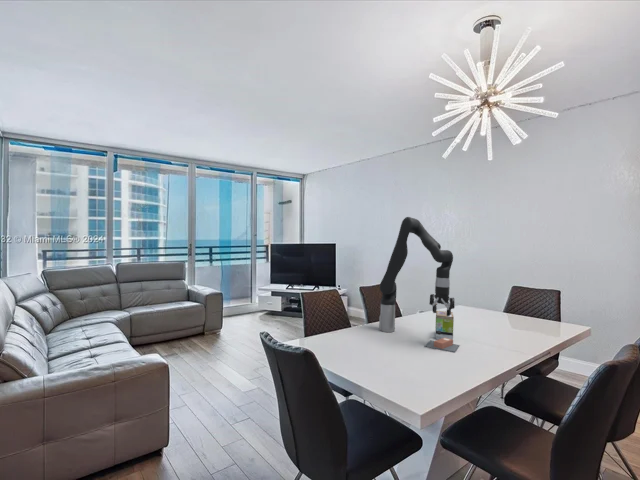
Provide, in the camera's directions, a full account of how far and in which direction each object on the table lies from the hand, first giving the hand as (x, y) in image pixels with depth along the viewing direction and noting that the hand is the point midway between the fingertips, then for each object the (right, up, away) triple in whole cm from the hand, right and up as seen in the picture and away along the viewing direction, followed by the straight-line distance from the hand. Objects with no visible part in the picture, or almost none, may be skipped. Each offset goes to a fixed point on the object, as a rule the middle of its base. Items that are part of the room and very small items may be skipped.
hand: (441, 314), depth 190 cm
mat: (0, -18, -1) cm, 18 cm away
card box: (-4, -15, -6) cm, 17 cm away
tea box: (+8, -18, +17) cm, 26 cm away
